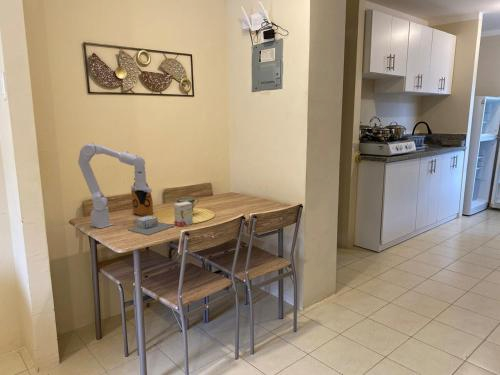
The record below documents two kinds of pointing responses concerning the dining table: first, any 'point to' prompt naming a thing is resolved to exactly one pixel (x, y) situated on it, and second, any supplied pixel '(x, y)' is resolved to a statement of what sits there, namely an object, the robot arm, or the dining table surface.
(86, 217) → the dining table surface
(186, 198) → the ceramic cup
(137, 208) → the coffee package
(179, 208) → the ink box
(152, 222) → the medicine box
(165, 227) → the mat
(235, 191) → the dining table surface
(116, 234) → the dining table surface
